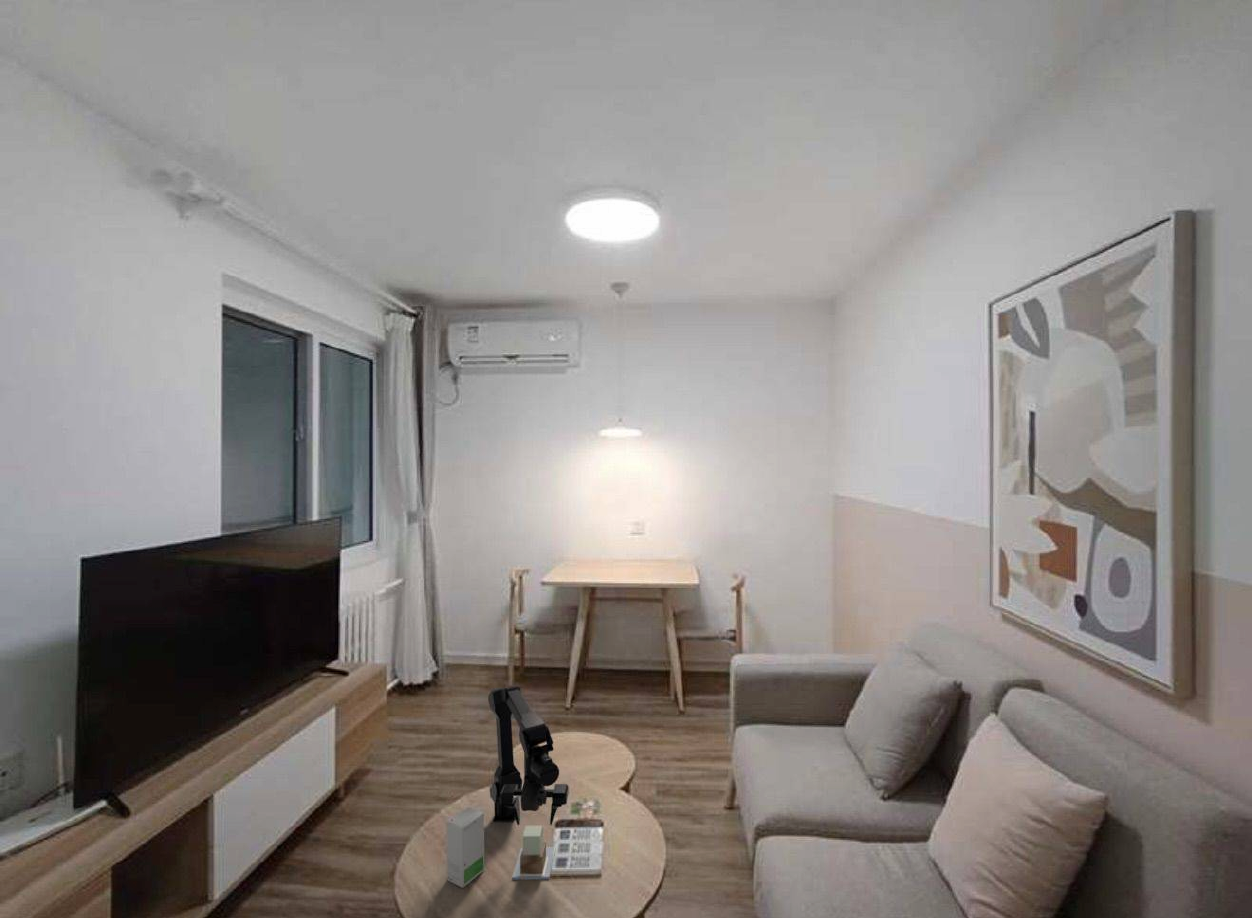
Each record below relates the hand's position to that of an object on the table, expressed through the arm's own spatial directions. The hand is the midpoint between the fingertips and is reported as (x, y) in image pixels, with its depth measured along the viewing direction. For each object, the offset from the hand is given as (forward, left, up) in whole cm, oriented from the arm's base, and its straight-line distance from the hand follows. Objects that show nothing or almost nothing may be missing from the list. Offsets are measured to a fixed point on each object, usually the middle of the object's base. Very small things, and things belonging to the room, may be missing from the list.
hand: (534, 824), depth 159 cm
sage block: (0, -4, -4) cm, 6 cm away
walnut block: (0, -4, -9) cm, 10 cm away
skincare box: (-18, -6, -10) cm, 21 cm away
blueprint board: (0, -2, -9) cm, 10 cm away
